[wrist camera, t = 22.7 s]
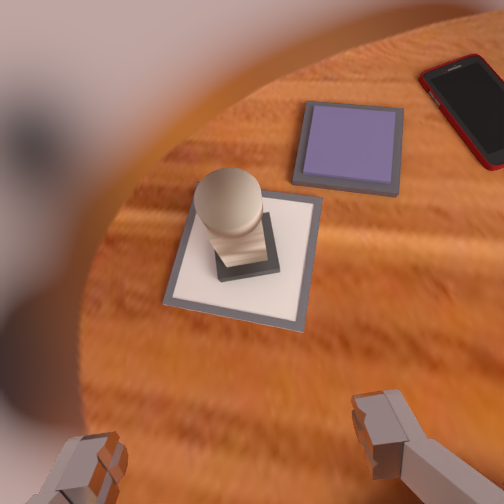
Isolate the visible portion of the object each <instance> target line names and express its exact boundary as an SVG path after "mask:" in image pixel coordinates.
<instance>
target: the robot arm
mask: <svg viewBox="0 0 504 504" xmlns="http://www.w3.org/2000/svg"><path fill="white" fill-rule="evenodd" d="M351 403H352V406H353V408H354V409H353V410H352V420H353V425H354V429H355V432H356V435H357V438H358V441H359V443H360V444H361V445H362V446H364V458H365V461H366V464H367V466H368V469H369V472H370V474H371V477H372V480H381V479H391V478H400V477H401V480H402V481H403V482H404V483H405V484H406V485H407V486H408V487H409V488H410V489H411V490H412V491H413V492H414V493H415V494H416V495H417V496H418V497H419V499H420V500H421V501H422V502H423V503H424V504H504V491H503V490H502V489H501V488H499V487H498V486H496V485H495V484H494V483H492V482H491V481H490V480H488V479H487V478H486V477H484V476H483V475H482V474H480V473H479V472H478V471H476V470H475V469H474V468H472V467H471V466H470V465H468V464H467V463H465V462H464V461H463V460H461V459H460V458H459V457H457V456H456V455H455V454H453V453H452V452H451V451H449V450H448V449H447V448H445V447H444V446H443V445H441V444H440V443H439V442H437V441H436V440H434V439H433V438H430V439H428V438H427V436H426V435H425V433H424V431H423V430H422V428H421V426H420V424H419V423H418V421H417V419H416V417H415V416H414V414H413V412H412V410H411V409H410V407H409V405H408V403H407V402H406V400H405V398H404V397H403V395H402V393H401V392H400V391H399V390H398V389H392V390H386V391H377V392H371V393H365V394H359V395H353V396H352V397H351ZM118 440H119V435H118V434H117V433H116V431H115V432H108V433H100V434H93V435H84V436H78V437H71V438H70V439H69V440H68V441H67V442H66V443H65V445H64V447H63V449H62V450H61V452H60V454H59V456H58V458H57V460H56V462H55V464H54V466H53V468H52V469H51V471H50V473H49V475H48V477H47V479H46V481H45V483H44V484H43V486H42V488H41V490H40V492H39V494H35V495H33V496H32V497H31V498H30V499H29V500H28V501H27V502H26V503H25V504H116V501H117V498H118V495H119V492H120V491H119V487H118V483H119V482H120V481H121V479H122V478H123V477H124V476H125V473H126V469H127V466H128V452H127V449H126V447H125V445H124V444H122V443H120V442H118Z"/></svg>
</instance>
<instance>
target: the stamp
mask: <svg viewBox="0 0 504 504" xmlns="http://www.w3.org/2000/svg"><path fill="white" fill-rule="evenodd" d="M194 206H195V210H196V212H197V214H198V216H199V217H200V219H201V220H202V222H203V224H204V225H205V227H206V228H207V232H208V240H209V242H210V243H211V245H212V246H213V248H214V251H215V259H216V268H217V276H218V280H219V281H220V282H227V281H233V280H239V279H244V278H250V277H256V276H262V275H267V274H273V273H279V272H280V265H279V260H278V255H277V249H276V244H275V239H274V234H273V229H272V223H271V218H270V213H269V212H265V213H263V203H262V195H261V189H260V186H259V184H258V182H257V180H256V179H255V178H254V177H253V176H252V175H251V174H250V173H248V172H246V171H244V170H242V169H238V168H222V169H218V170H216V171H213V172H211V173H210V174H208V175H207V176H206V177H205V178H204V179H203V180H202V181H201V182H200V183H199V185H198V187H197V189H196V191H195V195H194Z"/></svg>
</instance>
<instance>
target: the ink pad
mask: <svg viewBox="0 0 504 504" xmlns="http://www.w3.org/2000/svg"><path fill="white" fill-rule="evenodd" d="M403 117H404V109H403V108H390V107H378V106H365V105H353V104H340V103H328V102H316V101H307V103H306V108H305V114H304V119H303V125H302V130H301V136H300V141H299V147H298V152H297V158H296V163H295V169H294V174H293V180H292V185H300V186H308V187H316V188H325V189H333V190H341V191H349V192H357V193H365V194H373V195H381V196H389V197H397V196H398V194H399V184H400V167H401V150H402V134H403Z"/></svg>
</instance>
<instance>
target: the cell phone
mask: <svg viewBox="0 0 504 504" xmlns="http://www.w3.org/2000/svg"><path fill="white" fill-rule="evenodd" d="M419 82H420V83H421V85H422V86H423V88H424V89H425V90H426V92H428V93H429V94H430V95H431V97H432V98H433V99H434V101H435V102H436V103H437V105H438V106H439V107H440V108H439V109H440V110H441V112H442V113H443V114H444V116H445V117H446V118H447V120H448V121H449V122H450V124H451V125H452V126H453V127H454V129H455V130H456V131H457V133H458V134H459V135H460V137H461V138H462V139H463V141H464V142H465V143H466V145H467V146H468V147H469V149H470V150H471V151H472V152H473V154H474V155H475V156H476V158H477V159H478V160H479V162H480V163H481V164H482V165H483V166H484V167H485V168H486V169H487V170H490V171H494V170H498V169H501V168H504V81H503V80H502V79H501V78H500V77H499V75H498V74H497V73H496V72H495V71H494V70H493V69H492V68H491V67H490V65H489V64H488V63H487V62H486V61H485V60H484V59H483V58H482V57H481V56H480V55H478V54H470V55H467V56H464V57H461V58H458V59H456V60H453V61H450V62H447V63H445V64H442V65H439V66H436V67H434V68H431V69H428V70H426V71H424V72H423V73H421V75H420V77H419Z"/></svg>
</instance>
